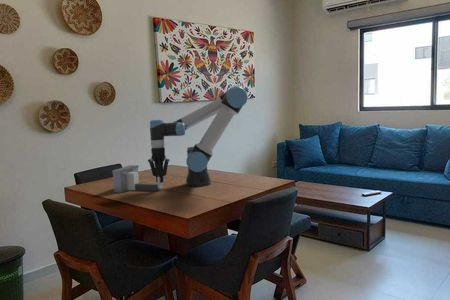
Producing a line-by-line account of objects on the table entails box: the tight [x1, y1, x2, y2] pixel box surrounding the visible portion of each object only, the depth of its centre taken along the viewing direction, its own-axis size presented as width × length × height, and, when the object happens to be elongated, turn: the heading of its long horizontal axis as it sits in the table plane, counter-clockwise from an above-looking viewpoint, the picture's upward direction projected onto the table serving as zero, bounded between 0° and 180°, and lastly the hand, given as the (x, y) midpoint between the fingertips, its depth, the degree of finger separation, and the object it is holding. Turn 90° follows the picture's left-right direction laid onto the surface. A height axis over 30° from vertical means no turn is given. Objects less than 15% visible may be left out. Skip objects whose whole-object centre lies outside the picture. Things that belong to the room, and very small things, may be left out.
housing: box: [111, 164, 140, 194], centre depth 223 cm, size 6×18×13 cm, turn 160°
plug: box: [126, 171, 162, 192], centre depth 219 cm, size 20×5×10 cm, turn 70°
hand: (160, 187), depth 215 cm, fingers closed
